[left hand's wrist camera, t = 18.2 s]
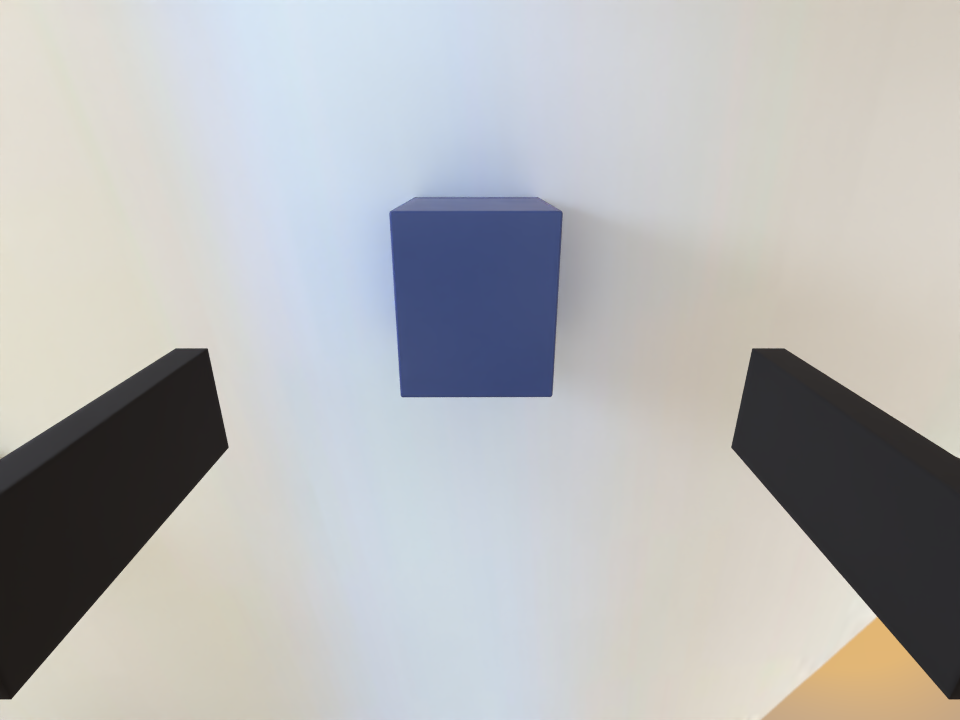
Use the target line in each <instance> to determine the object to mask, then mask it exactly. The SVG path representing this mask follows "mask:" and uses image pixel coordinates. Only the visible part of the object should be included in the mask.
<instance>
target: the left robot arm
mask: <svg viewBox="0 0 960 720" xmlns="http://www.w3.org/2000/svg"><path fill="white" fill-rule="evenodd" d="M228 448H229V447H228V442H227V437H226V433H225V428H224V423H223V419H222V414H221V409H220V404H219V400H218V395H217V390H216V386H215V381H214V376H213V372H212V367H211V362H210V357H209V353H208V349H174V350H173V351H171V352H170V353H168V354H166V355H165V356H163V357H162V358H160V359H158V360H157V361H155V362H154V363H152V364H151V365H149V366H147V367H146V368H144V369H143V370H141V371H139V372H138V373H136V374H135V375H133V376H132V377H130V378H128V379H127V380H125V381H124V382H122V383H120V384H119V385H117V386H116V387H114V388H113V389H111V390H109V391H108V392H106V393H105V394H103V395H101V396H100V397H98V398H97V399H95V400H94V401H92V402H90V403H89V404H87V405H86V406H84V407H82V408H81V409H79V410H78V411H76V412H75V413H73V414H71V415H70V416H68V417H67V418H65V419H63V420H62V421H60V422H59V423H57V424H56V425H54V426H52V427H51V428H49V429H48V430H46V431H45V432H43V433H41V434H40V435H38V436H37V437H35V438H33V439H32V440H30V441H29V442H27V443H26V444H24V445H22V446H21V447H19V448H18V449H16V450H14V451H13V452H11V453H10V454H8V455H7V456H5V457H3V458H2V459H0V699H12V698H13V697H14V695H15V694H16V693H17V692H18V691H19V690H20V688H21V687H22V686H23V685H24V684H25V683H26V682H27V680H28V679H29V678H30V677H31V676H32V675H33V673H34V672H35V671H36V670H37V669H38V668H39V666H40V665H41V664H42V663H43V662H44V661H45V660H46V658H47V657H48V656H49V655H50V654H51V653H52V651H53V650H54V649H55V648H56V647H57V646H58V644H59V643H60V642H61V641H62V640H63V639H64V638H65V636H66V635H67V634H68V633H69V632H70V631H71V629H72V628H73V627H74V626H75V625H76V624H77V622H78V621H79V620H80V619H81V618H82V617H83V616H84V614H85V613H86V612H87V611H88V610H89V609H90V607H91V606H92V605H93V604H94V603H95V602H96V600H97V599H98V598H99V597H100V596H101V595H102V594H103V592H104V591H105V590H106V589H107V588H108V587H109V585H110V584H111V583H112V582H113V581H114V580H115V578H116V577H117V576H118V575H119V574H120V573H121V572H122V570H123V569H124V568H125V567H126V566H127V565H128V563H129V562H130V561H131V560H132V559H133V558H134V556H135V555H136V554H137V553H138V552H139V551H140V550H141V548H142V547H143V546H144V545H145V544H146V543H147V541H148V540H149V539H150V538H151V537H152V536H153V534H154V533H155V532H156V531H157V530H158V529H159V528H160V526H161V525H162V524H163V523H164V522H165V521H166V519H167V518H168V517H169V516H170V515H171V514H172V512H173V511H174V510H175V509H176V508H177V507H178V506H179V504H180V503H181V502H182V501H183V500H184V499H185V497H186V496H187V495H188V494H189V493H190V492H191V490H192V489H193V488H194V487H195V486H196V485H197V483H198V482H199V481H200V480H201V479H202V478H203V477H204V475H205V474H206V473H207V472H208V471H209V470H210V468H211V467H212V466H213V465H214V464H215V463H216V461H217V460H218V459H219V458H220V457H221V456H222V455H223V453H224V452H225V451H226V450H227V449H228ZM731 448H732V449H733V450H734V451H735V452H736V453H737V455H738V456H739V457H740V458H741V459H742V460H743V461H744V463H745V464H746V465H747V466H748V467H749V468H750V470H751V471H752V472H753V473H754V474H755V475H756V477H757V478H758V479H759V480H760V481H761V482H762V483H763V485H764V486H765V487H766V488H767V489H768V490H769V492H770V493H771V494H772V495H773V496H774V497H775V499H776V500H777V501H778V502H779V503H780V504H781V506H782V507H783V508H784V509H785V510H786V511H787V512H788V514H789V515H790V516H791V517H792V518H793V519H794V521H795V522H796V523H797V524H798V525H799V526H800V528H801V529H802V530H803V531H804V532H805V533H806V534H807V536H808V537H809V538H810V539H811V540H812V541H813V543H814V544H815V545H816V546H817V547H818V548H819V550H820V551H821V552H822V553H823V554H824V555H825V556H826V558H827V559H828V560H829V561H830V562H831V563H832V565H833V566H834V567H835V568H836V569H837V570H838V572H839V573H840V574H841V575H842V576H843V577H844V578H845V580H846V581H847V582H848V583H849V584H850V585H851V587H852V588H853V589H854V590H855V591H856V592H857V594H858V595H859V596H860V597H861V598H862V599H863V600H864V602H865V603H866V604H867V605H868V606H869V607H870V609H871V610H872V611H873V612H874V613H875V614H876V616H877V617H878V618H879V619H880V620H881V621H882V622H883V624H884V625H885V626H886V627H887V628H888V629H889V631H890V632H891V633H892V634H893V635H894V636H895V637H896V639H897V640H898V641H899V642H900V643H901V644H902V646H903V647H904V648H905V649H906V650H907V651H908V653H909V654H910V655H911V656H912V657H913V658H914V659H915V661H916V662H917V663H918V664H919V665H920V666H921V668H922V669H923V670H924V671H925V672H926V673H927V675H928V676H929V677H930V678H931V679H932V680H933V682H934V683H935V684H936V685H937V686H938V687H939V688H940V690H941V691H942V692H943V693H944V694H945V695H946V697H947V698H948V699H960V458H957V457H955V456H953V455H952V454H950V453H949V452H947V451H946V450H944V449H942V448H941V447H939V446H938V445H936V444H934V443H933V442H931V441H930V440H928V439H927V438H925V437H923V436H922V435H920V434H919V433H917V432H915V431H914V430H912V429H911V428H909V427H908V426H906V425H904V424H903V423H901V422H900V421H898V420H897V419H895V418H893V417H892V416H890V415H889V414H887V413H885V412H884V411H882V410H881V409H879V408H878V407H876V406H874V405H873V404H871V403H870V402H868V401H866V400H865V399H863V398H862V397H860V396H859V395H857V394H855V393H854V392H852V391H851V390H849V389H847V388H846V387H844V386H843V385H841V384H840V383H838V382H836V381H835V380H833V379H832V378H830V377H828V376H827V375H825V374H824V373H822V372H821V371H819V370H817V369H816V368H814V367H813V366H811V365H809V364H808V363H806V362H805V361H803V360H802V359H800V358H798V357H797V356H795V355H794V354H792V353H790V352H789V351H787V350H786V349H752V353H751V357H750V362H749V367H748V372H747V376H746V381H745V386H744V390H743V395H742V400H741V404H740V409H739V414H738V419H737V423H736V428H735V433H734V437H733V442H732V447H731Z"/></svg>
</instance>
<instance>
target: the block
mask: <svg viewBox="0 0 960 720" xmlns="http://www.w3.org/2000/svg"><path fill="white" fill-rule="evenodd" d="M389 214H390V230H391V246H392V262H393V278H394V294H395V310H396V326H397V342H398V358H399V374H400V390H401V396H402V397H551V396H552V392H553V374H554V357H555V339H556V322H557V304H558V287H559V269H560V251H561V234H562V216H563V213H562V211H560V210H559V209H557V208H555V207H554V206H552V205H550V204H548V203H547V202H545V201H543V200H542V199H540V198H538V197H415V198H413V199H411V200H409V201H408V202H406V203H404V204H402V205H401V206H399V207H397V208H395V209H394V210H392V211H390V213H389Z"/></svg>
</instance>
